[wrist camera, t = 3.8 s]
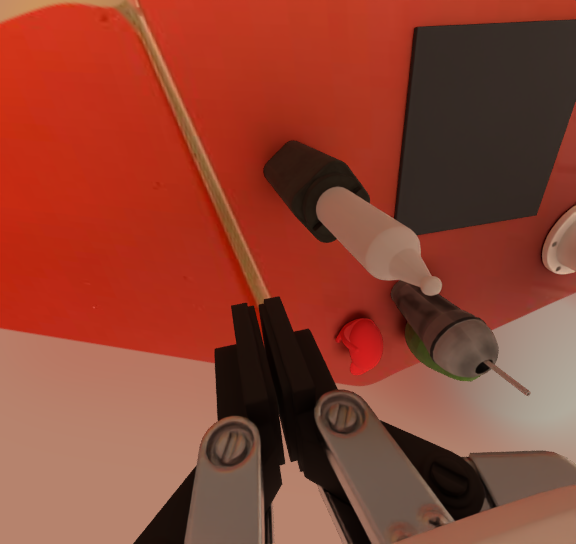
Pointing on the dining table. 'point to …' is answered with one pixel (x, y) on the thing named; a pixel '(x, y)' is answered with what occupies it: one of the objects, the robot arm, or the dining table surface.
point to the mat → (483, 121)
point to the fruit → (426, 354)
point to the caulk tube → (347, 215)
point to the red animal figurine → (362, 344)
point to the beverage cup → (450, 333)
